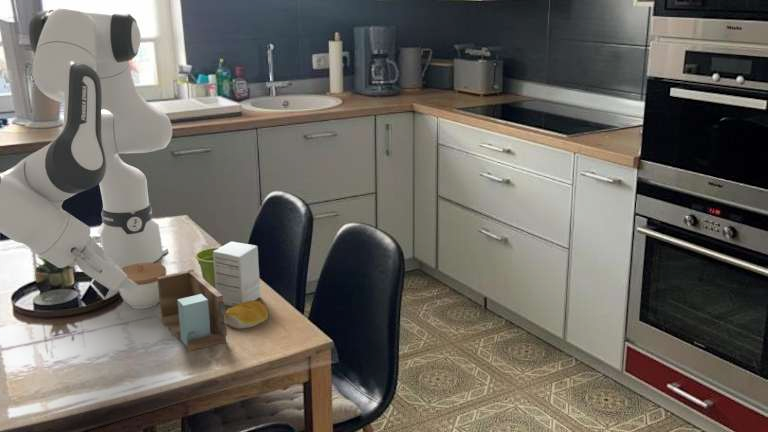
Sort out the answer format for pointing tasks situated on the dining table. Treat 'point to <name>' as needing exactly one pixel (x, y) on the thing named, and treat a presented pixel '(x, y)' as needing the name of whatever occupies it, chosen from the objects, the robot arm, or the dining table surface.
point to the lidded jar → (143, 284)
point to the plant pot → (207, 264)
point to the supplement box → (237, 273)
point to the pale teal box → (193, 318)
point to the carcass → (185, 287)
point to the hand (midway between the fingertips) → (127, 280)
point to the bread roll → (246, 314)
